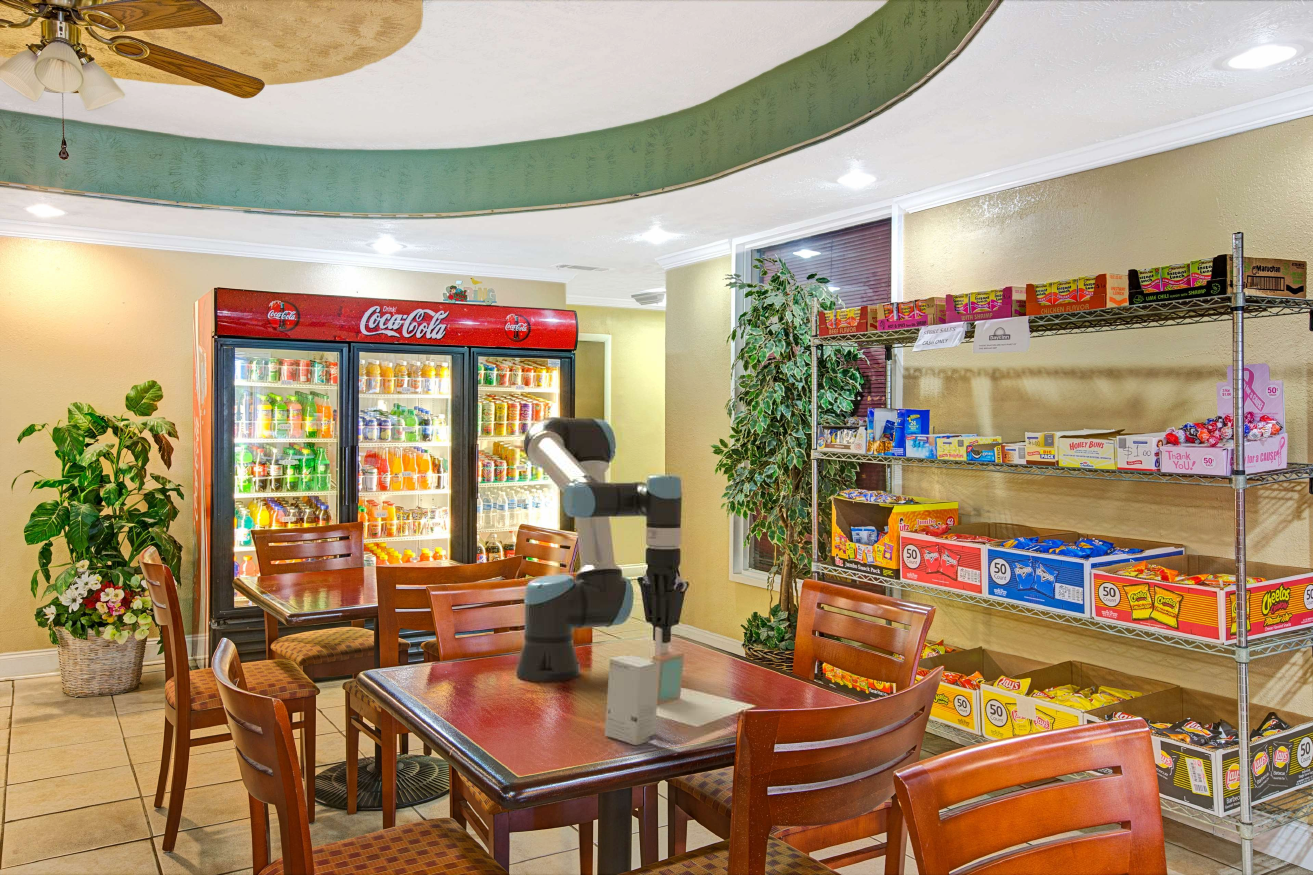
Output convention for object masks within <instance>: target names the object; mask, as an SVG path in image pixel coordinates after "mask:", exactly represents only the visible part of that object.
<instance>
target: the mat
mask: <svg viewBox="0 0 1313 875" xmlns="http://www.w3.org/2000/svg"><path fill="white" fill-rule="evenodd" d="M755 707H756V705H755V704H752V703H747V702H742V701H738V700H734V699H731V698H726V697H722V696H717V695H714V694H709V693H707V692H701V691H697V690H693V689H691V688H690V689H689V688H685V687H682V686H681V695H680V699H676V700H673V701H670V702H667V703H663V704H660V705H657V711H656V717H660V718H664V719H667V720H671V721H674V722H679V723H682V724H685V725H689V726H692V727H696V728H698V727H701V726H703V725H706V724H709V723H712V722H715V721H718V720H721V719H724V718H726V717H730V716H732V715H736V714H737V713H740V712H743V711H742V710H744V711H746V710H750V709H752V708H755Z"/></svg>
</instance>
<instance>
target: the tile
mask: <svg viewBox="0 0 1313 875" xmlns="http://www.w3.org/2000/svg"><path fill="white" fill-rule="evenodd" d="M684 658H685V652H683V651H680V650H673V651H668V653H664V654H660V655H656V656H655V655H652V659H651V661H655V662H658V663H659V679H658V696H657V705H660V704H663V703H667V702H670V701H673V700H676V699H680V695H681V687H682V684H683V683H682V682H683V681H682V680H683V669H684V660H685V659H684Z"/></svg>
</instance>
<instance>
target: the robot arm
mask: <svg viewBox="0 0 1313 875" xmlns="http://www.w3.org/2000/svg"><path fill="white" fill-rule="evenodd" d="M614 433H615V432H614V431H613V429H612V427H611V425H610V424H609V423H608V422H607V421H606V420H604V419H599V418H598V419H597V418H593V417H587V418H585V417H584V418H580V417H556V416H555V417H554V416H553V417H551V416H550V417H545V418H543V419H540V420H538V421H536V422H535V423H534V424H532V425H531V427H529V429H527V432H526V433H525V435H524V438H523V450H524V451H523V452H524V454H525V455H526V458H527V459H528V461H530V462H531V464H533V465H534V466H535V467H536V468H541V469H542V470H543V471H544V472H545V474H546V475H547V476H548V477H549V478H550V479H551V481H553V483H554V484H555V485H556V486H557V488H558V489H559V490H560V491H561V492H562V507H563V511H564V514H566V516H568V517H571V518H575V523H576V532H577V543H578V550H579V551H578V552H579V561H580V562H579V563H580V568H579V570H577V572H576V573H575V578H574V576H573V575H571V574H565V573H564V574H552V575H551V574H550V575H545V576H544V575H543V576H540V577H537V578H534V579H532V580H530V581H529V582H528V583H527V584H526V586H525V593H524V594H525V595H524V596H525V597H524V600H523V601H524V632H523V633H524V635H523V636H524V637H523V638H524V642H523V646H522V647H521V648H522V649H521V652H520V654H519V658H518V661H517V663H516V668H515V675H516V677H518V678H519V679H521V680H525V681H530V682H541V683H552V682H555V683H556V682H564V681H569V680H571V679H572V680H573V679H575V678H577V677H579V676H580V669H581V668H580V663H579V660H578V656H577V652H576V649H575V645H574V637H573V636H574V630H576V629H588V628H589V629H590V628H603V627H604V628H610V627H613V626H619V625H622V624H624V623H626V622H627V620H628V619H629V617H630V615H631V612H633V611H632V610H633V608H634V607H633V606H634V597H635V596H634V586H633V584H632V582H631V579H629V578H627V577H625V576H623V571H622V568H621V567H620V566H618V565H617V563H616V562H615V561H616V560H615V554H614V545H613V536H612V528H611V518H617V517H619V518H621V517H622V518H623V517H624V518H626V517H643V518H644V517H645V519H646V522H645V526H646V528H645V529H646V530H645V533H646V534H645V545H646V546H648V547H646V549H645V564H646V565H647V568H646V570H645V574H644V575H642V576H639V577H637V579H636V580H637V583H638V586H639V587H640V592H641V599H642V606H643V612H644V618H645V621H646V623H650V624H651V625H652V639H653V641H654V656H656V655H660V654H664V653H668V652H669V643H671V640H672V627H673V626H677V625H679V624H680V620H681V614H682V609H683V605H684V600H685V594H686V591H687V590H688V588H689V587H690V583H689V582H688V581H685V580H684V579H682V578H681V572H680V569H679V566H680V565H681V562H682V561H681V556H682V555H681V554H682V553H681V549H680V546H681V545H682V504H683V503H682V502H683V500H682V498H683V497H682V496H683V490H682V479H681V477H680V476H678V475H669V474H668V475H667V474H651V475H649V476H648V477H647V480H646V482H645V481H643V482H642V481H638V482H637V481H633V482H606V476H605V475H606V474H605V473H606V472H607V471H608V469H609V468H610V463H611V462H612V461H613V460H614V459H615V456H616V448H617V444H616V442H617V441H616V437H615V434H614Z"/></svg>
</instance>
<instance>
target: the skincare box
mask: <svg viewBox="0 0 1313 875" xmlns="http://www.w3.org/2000/svg"><path fill="white" fill-rule="evenodd" d="M608 665H609V669H608V682H607V695H606V696H607V698H606V711H605V714H606V715H605V724H604V725H605V726H604V735H605V737H607V738H610V739H611V738H612V739H615V740H618V741H622V742H625V743H627V744H630V745H633V746H638V745H641V744H644V743H647V742H651V741H654V740H655V738H654V737H651V736H654V735H656V727H657V726H656V724H657V716H656V711H657V696H658V679H659V663H658V662H655V661H652V659H648V658H645V657H641V656H640V657H639V656H635V655H632V654H624V655H619V656H615V657H611V658H609V664H608Z"/></svg>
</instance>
